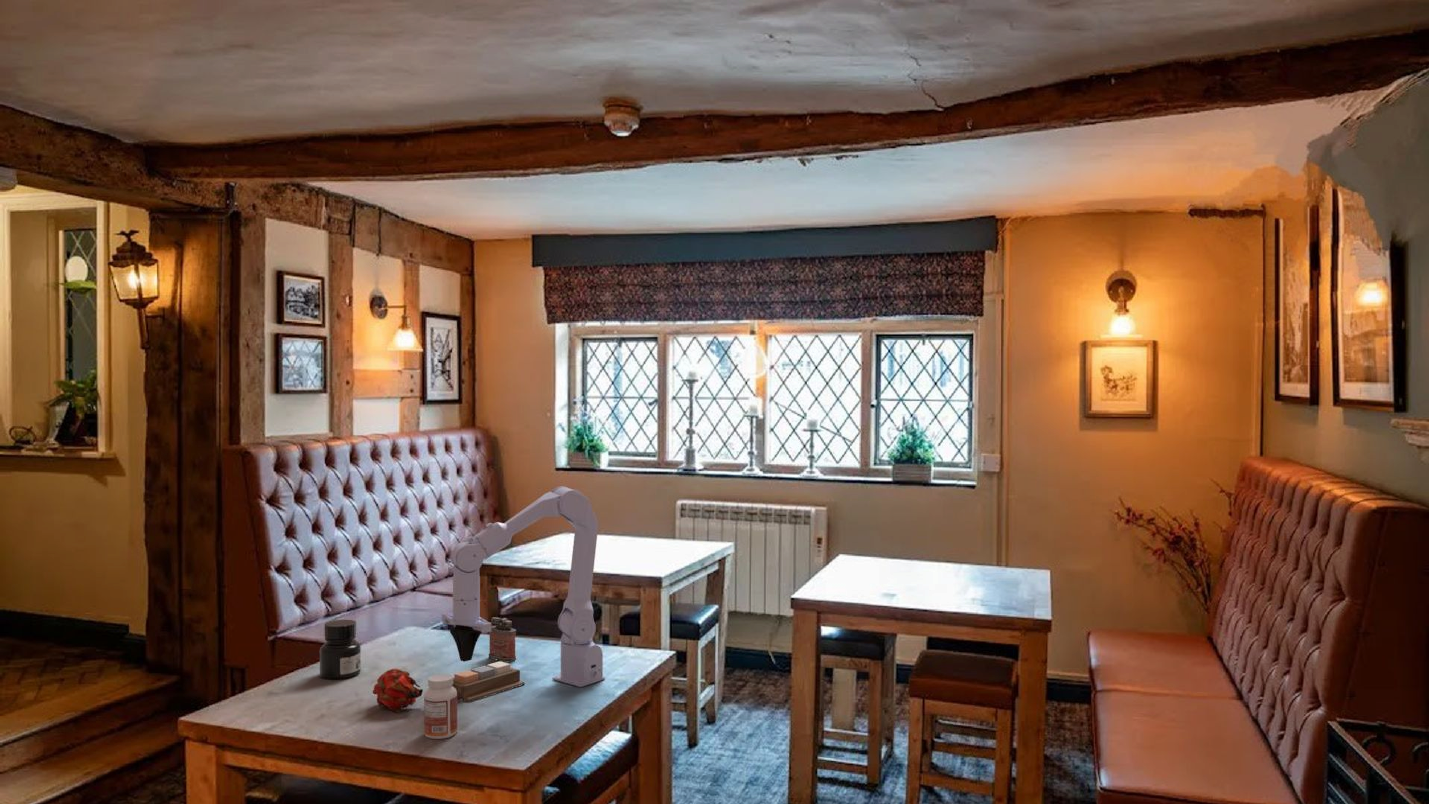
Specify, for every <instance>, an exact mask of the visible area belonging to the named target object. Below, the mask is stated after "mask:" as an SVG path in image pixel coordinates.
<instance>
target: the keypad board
mask: <svg viewBox="0 0 1429 804" xmlns="http://www.w3.org/2000/svg"><path fill="white" fill-rule="evenodd" d="M520 675H521V670H520V669H517V668H513V667H510V672H506V673H503V674H500V675H496V676H493V677H489V678H486V679H483V680H479V681H476V682H473V683H469V684H466V685H465V684H461V683H458V682H455V681H454V677H453V685H452V686H453V687H454V688H455V689H456V691H457V700H461V699H462V701H464V700H465V701H464V702H467V703H471V702H474V701H477V700H476V699H478V700H480V698H481V699H484V698H486V697H485V696H487V697H489V696H493V695H492V694H494V693H497V694H499V692H500V693H502V692H501V691H503V690H506V691H509V690H508V689H510V688H512V687H516V686H519V685H521V684H525V682H524V681H523V680H520V679H521V676H520ZM519 687H520V686H519ZM516 688H517V687H516ZM510 690H511V689H510ZM503 692H504V691H503ZM494 695H495V694H494ZM473 700H474V701H473Z"/></svg>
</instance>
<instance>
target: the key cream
mask: <svg viewBox="0 0 1429 804" xmlns="http://www.w3.org/2000/svg"><path fill="white" fill-rule="evenodd" d="M486 666H487V667H490V668H494V669H495V676H496V675H500V674H503V673H506V672H510V668H511V663H509V662H503V661H496V662H493V663H489V664H487V665H486Z"/></svg>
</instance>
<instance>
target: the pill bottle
mask: <svg viewBox="0 0 1429 804" xmlns="http://www.w3.org/2000/svg"><path fill="white" fill-rule="evenodd" d="M453 678H454V676H453V675H452V674H449V673H439V674H434V675H430V676H429V677H428V679H427V686H428V688H427V689H426V690H425V692H424V694H423V704H424V705H423V707H424V708H423V709H424V710H423V712H424V713H423V714H424V715H423V716H424V717H423V718H424V719H423V720H424V721H423V722H424V724H423V726H424V728H423V729H424V731H423V732H424V735H425V737H426V738H428V739H432V740H443V739H444V740H445V739H448V738H451V737H453V736H454V735H456V734H457V732H458V698H457V691H456V689H455V688H454V687H453V686H452V685H453Z"/></svg>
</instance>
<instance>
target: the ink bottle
mask: <svg viewBox="0 0 1429 804" xmlns="http://www.w3.org/2000/svg"><path fill="white" fill-rule="evenodd" d="M356 636H357V622H356V620H353V619H336V620H331V621H326V622H325V623H324V641H325V642H324V644H322V646H320V647H319V676H320V677H321V678H323V679H327V680H342V679H350V678H352V677H355V676H357V675H359V674H360V672H361V671H362V667H361V665H362V664H361V663H362V660H361V659H362V656H361V655H362V654H361V653H362V652H361V649H362V647H361V644H360V643H359V642H358V641H357V640H356Z"/></svg>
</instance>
